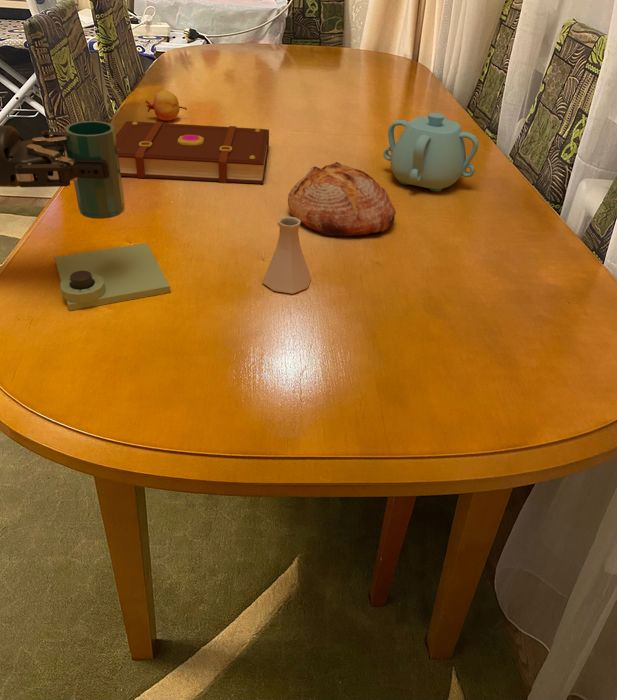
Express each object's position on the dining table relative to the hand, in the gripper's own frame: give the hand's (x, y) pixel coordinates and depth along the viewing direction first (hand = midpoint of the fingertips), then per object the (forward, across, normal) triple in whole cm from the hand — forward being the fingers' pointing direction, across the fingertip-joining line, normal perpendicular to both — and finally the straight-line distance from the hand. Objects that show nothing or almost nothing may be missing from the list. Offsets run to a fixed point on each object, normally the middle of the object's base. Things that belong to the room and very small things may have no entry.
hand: (112, 159), depth 79 cm
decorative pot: (+55, -41, -18) cm, 71 cm away
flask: (+23, +1, -18) cm, 30 cm away
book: (+6, -49, -18) cm, 52 cm away
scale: (-2, 0, -18) cm, 18 cm away
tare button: (-5, +6, -16) cm, 17 cm away
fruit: (-2, -76, -18) cm, 78 cm away
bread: (+34, -21, -18) cm, 44 cm away
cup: (-2, 0, -7) cm, 7 cm away
